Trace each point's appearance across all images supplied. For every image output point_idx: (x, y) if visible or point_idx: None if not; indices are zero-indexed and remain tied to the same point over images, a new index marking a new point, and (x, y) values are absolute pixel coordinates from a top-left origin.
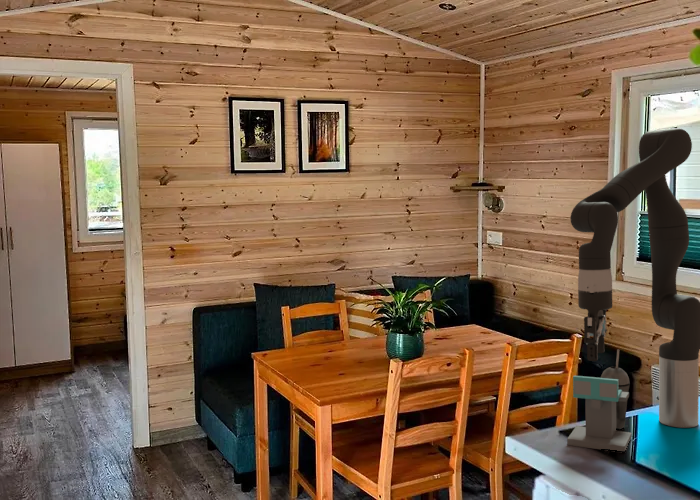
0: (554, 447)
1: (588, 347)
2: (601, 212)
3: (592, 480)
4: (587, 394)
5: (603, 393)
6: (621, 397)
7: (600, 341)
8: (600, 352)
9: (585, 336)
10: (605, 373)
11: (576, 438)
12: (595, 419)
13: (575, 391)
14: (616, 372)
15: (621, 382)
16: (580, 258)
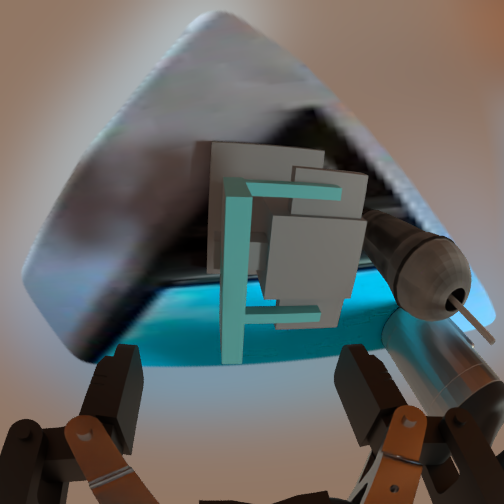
0: (182, 116)
1: (82, 408)
2: None
3: (40, 231)
4: (221, 233)
5: (220, 291)
6: None
7: (357, 417)
8: (338, 367)
9: (4, 462)
10: (436, 270)
11: (221, 163)
12: (257, 219)
13: (223, 190)
14: (428, 305)
15: (402, 305)
16: None
